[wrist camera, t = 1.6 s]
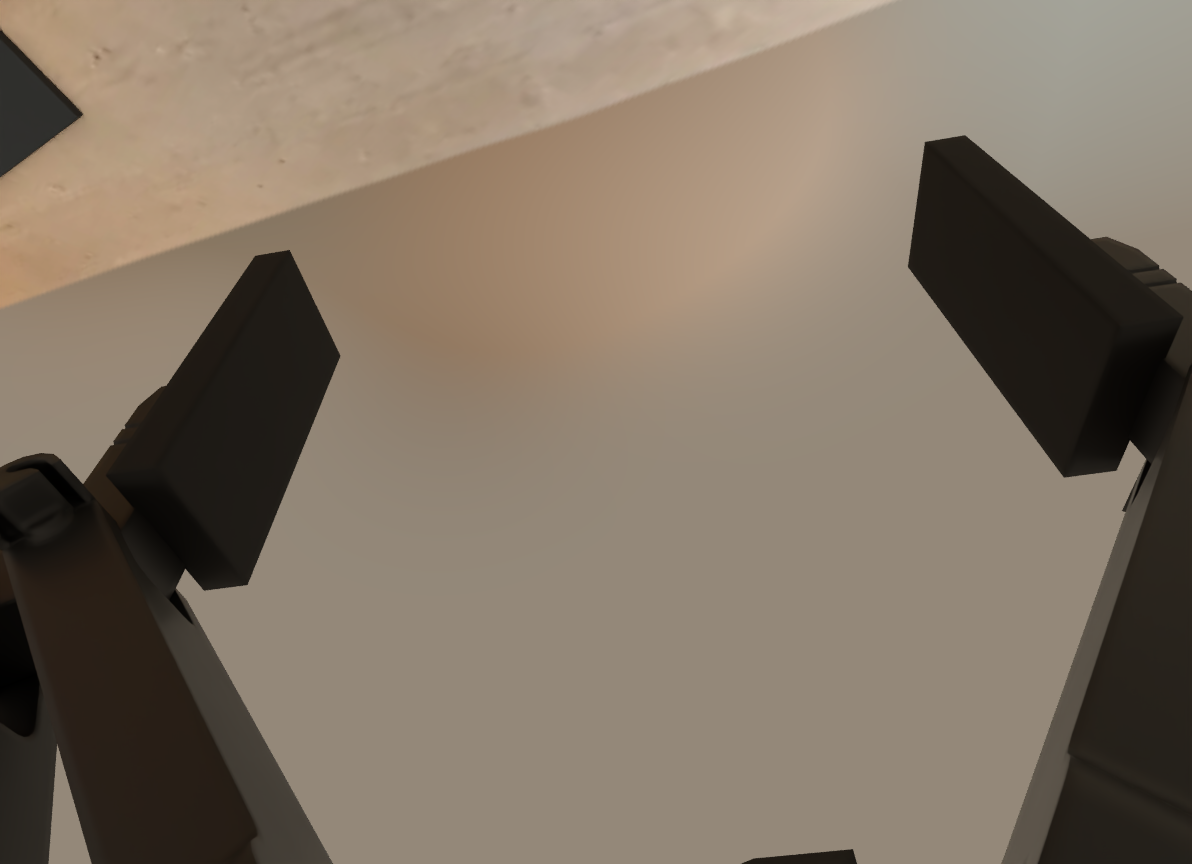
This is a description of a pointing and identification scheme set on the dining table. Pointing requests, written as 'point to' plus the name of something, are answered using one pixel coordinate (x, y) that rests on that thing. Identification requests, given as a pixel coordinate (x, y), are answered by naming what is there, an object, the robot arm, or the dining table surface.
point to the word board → (27, 107)
